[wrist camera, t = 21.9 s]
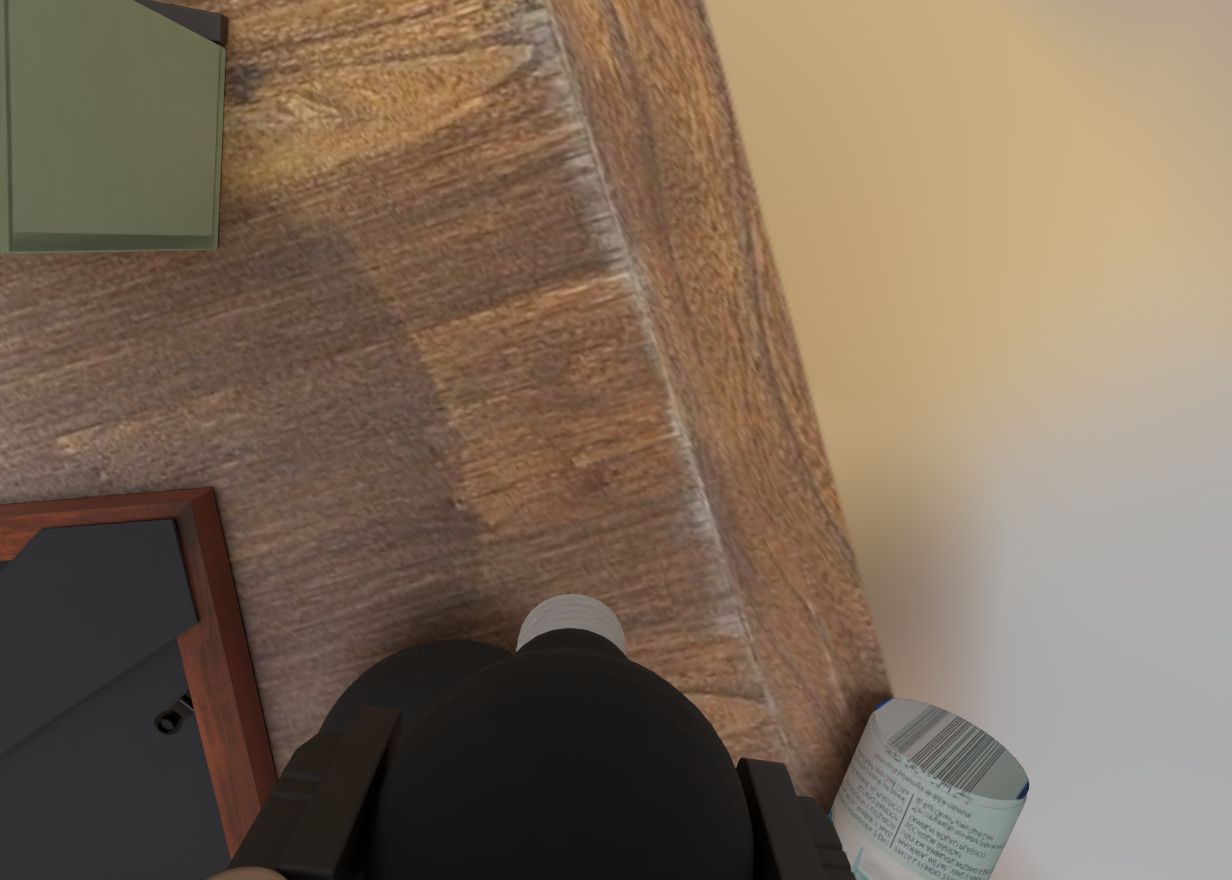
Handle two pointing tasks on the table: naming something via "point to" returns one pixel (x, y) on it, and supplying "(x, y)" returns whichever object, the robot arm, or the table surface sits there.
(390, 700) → the speaker
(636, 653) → the table surface
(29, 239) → the box
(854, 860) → the spray paint can
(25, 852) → the picture frame
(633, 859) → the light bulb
